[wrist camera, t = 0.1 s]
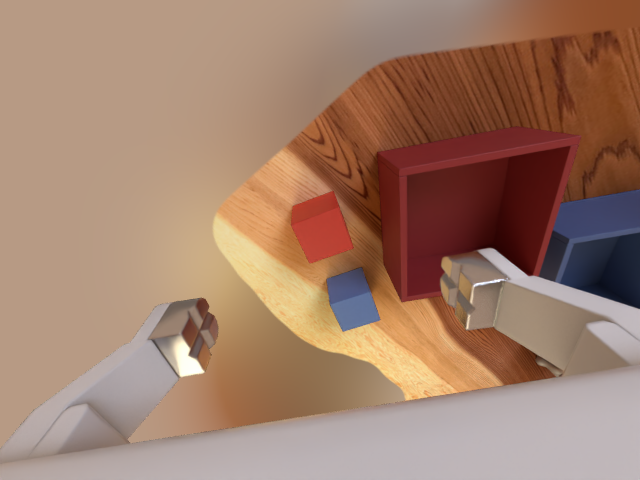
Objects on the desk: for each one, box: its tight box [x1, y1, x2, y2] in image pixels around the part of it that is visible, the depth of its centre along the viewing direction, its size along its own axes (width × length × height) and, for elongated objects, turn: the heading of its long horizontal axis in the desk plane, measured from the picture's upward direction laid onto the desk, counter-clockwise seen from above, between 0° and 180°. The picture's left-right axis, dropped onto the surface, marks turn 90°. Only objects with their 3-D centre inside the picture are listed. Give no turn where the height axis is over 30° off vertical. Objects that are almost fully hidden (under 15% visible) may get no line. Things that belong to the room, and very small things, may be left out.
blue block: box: [327, 267, 380, 332], centre depth 31 cm, size 4×4×4 cm
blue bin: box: [539, 190, 640, 309], centre depth 29 cm, size 13×13×6 cm
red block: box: [291, 191, 354, 263], centre depth 26 cm, size 4×4×4 cm
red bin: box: [377, 126, 581, 302], centre depth 25 cm, size 13×13×6 cm
